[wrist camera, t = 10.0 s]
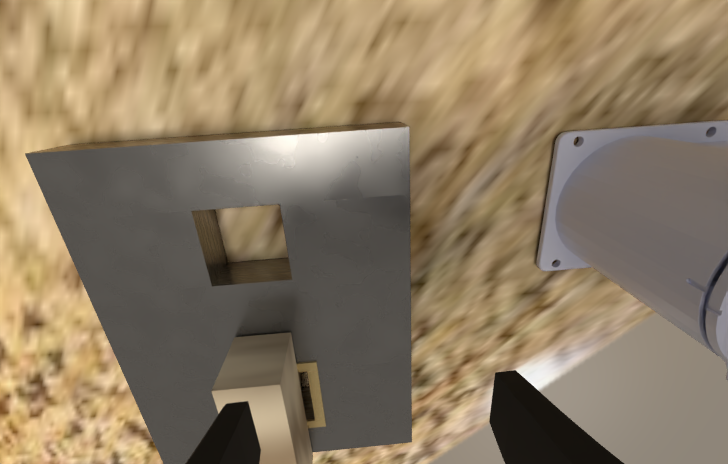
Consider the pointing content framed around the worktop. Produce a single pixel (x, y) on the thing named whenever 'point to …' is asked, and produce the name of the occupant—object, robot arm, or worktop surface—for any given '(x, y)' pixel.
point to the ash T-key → (268, 395)
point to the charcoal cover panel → (247, 270)
